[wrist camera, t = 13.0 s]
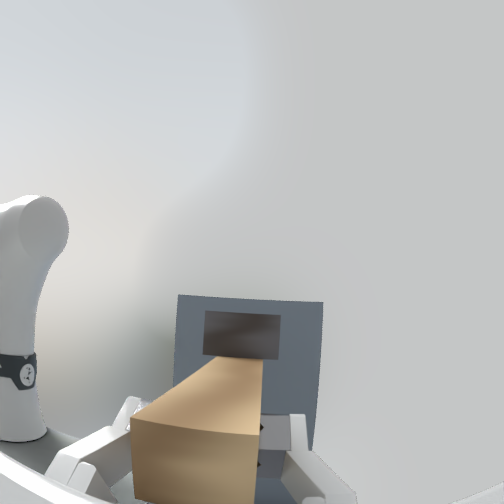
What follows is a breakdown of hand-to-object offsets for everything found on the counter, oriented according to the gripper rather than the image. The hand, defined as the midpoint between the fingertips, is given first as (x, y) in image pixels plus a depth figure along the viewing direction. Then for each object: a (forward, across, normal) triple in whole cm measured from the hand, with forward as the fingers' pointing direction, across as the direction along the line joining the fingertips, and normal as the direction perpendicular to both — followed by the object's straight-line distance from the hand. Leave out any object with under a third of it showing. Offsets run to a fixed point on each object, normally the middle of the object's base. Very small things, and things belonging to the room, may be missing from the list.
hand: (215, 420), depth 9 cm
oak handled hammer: (+4, 0, -4) cm, 5 cm away
